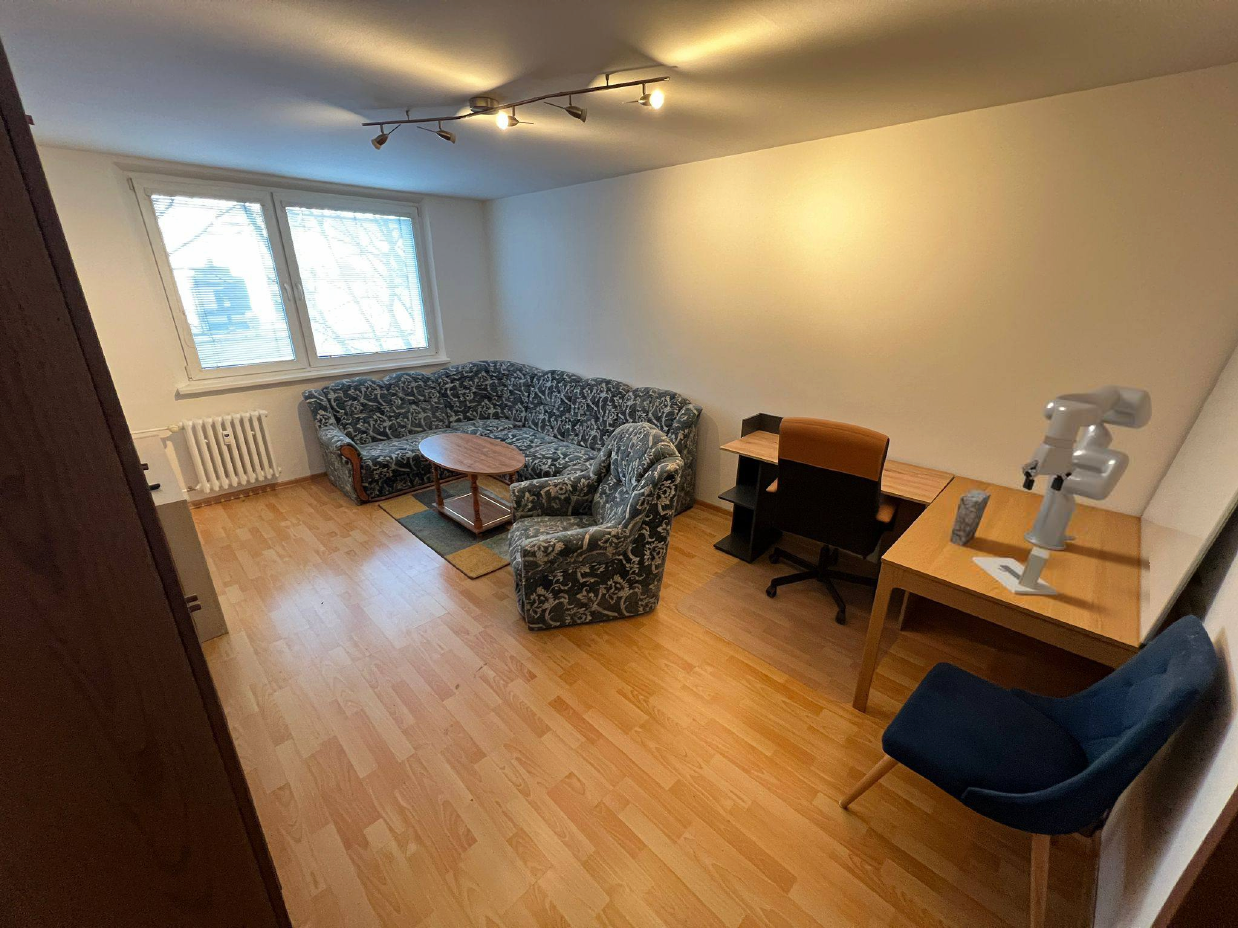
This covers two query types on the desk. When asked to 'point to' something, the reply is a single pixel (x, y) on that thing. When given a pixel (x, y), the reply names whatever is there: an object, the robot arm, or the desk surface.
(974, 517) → the stone block
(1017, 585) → the board
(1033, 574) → the skincare box
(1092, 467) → the robot arm
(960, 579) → the desk surface
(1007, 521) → the desk surface
